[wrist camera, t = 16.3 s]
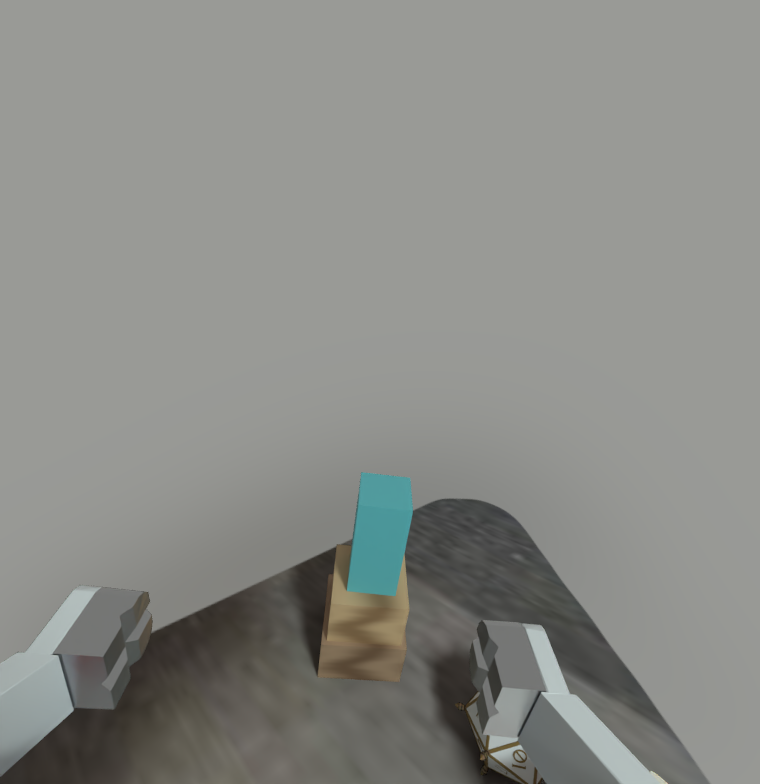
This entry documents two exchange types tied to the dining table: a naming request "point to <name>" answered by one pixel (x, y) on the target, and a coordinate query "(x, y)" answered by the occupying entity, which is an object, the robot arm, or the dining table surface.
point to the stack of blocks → (658, 778)
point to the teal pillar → (380, 534)
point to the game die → (500, 750)
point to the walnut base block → (358, 655)
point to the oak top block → (365, 609)
